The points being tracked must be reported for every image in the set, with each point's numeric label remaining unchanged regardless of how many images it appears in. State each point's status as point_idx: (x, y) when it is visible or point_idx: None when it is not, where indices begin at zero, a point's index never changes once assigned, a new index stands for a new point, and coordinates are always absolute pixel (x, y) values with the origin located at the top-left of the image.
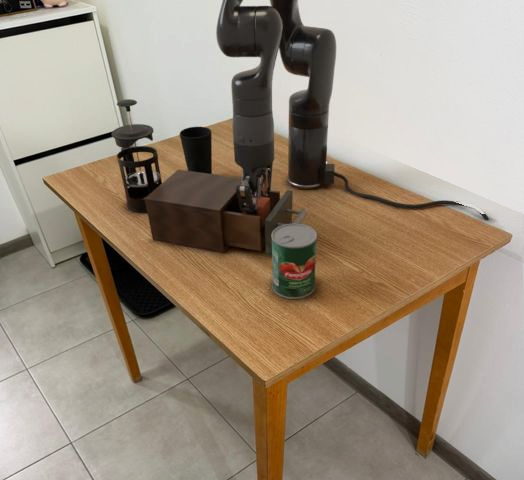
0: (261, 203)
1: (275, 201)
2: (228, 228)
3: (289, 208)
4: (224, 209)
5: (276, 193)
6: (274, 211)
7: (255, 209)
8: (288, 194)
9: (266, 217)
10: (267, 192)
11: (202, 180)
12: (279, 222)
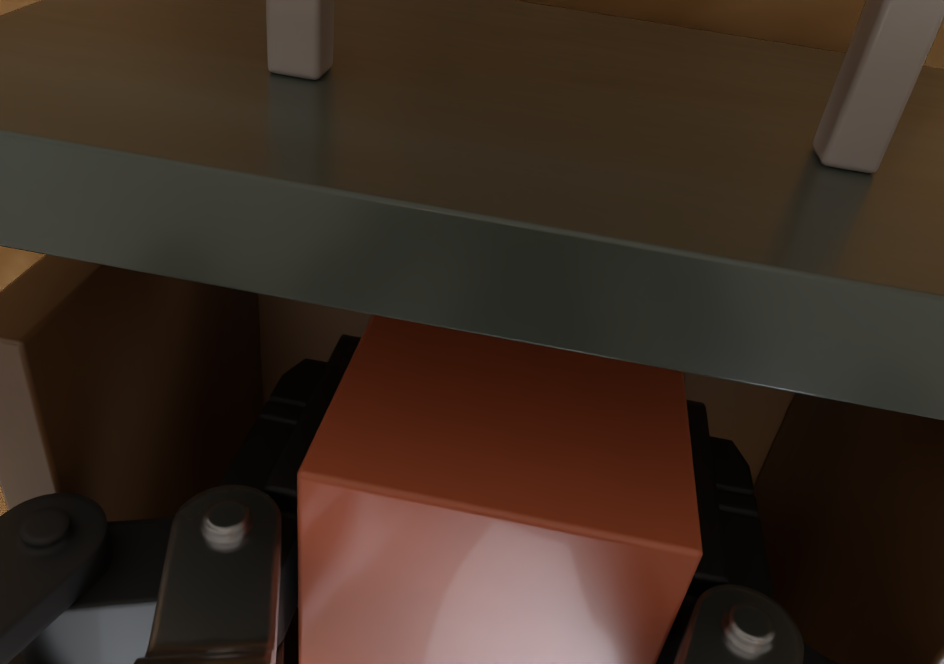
0: (543, 571)
1: (125, 303)
2: None
3: (169, 40)
4: (295, 640)
5: (40, 371)
6: (884, 349)
7: (795, 639)
8: (8, 159)
9: None
10: (175, 541)
11: None
12: (718, 135)
